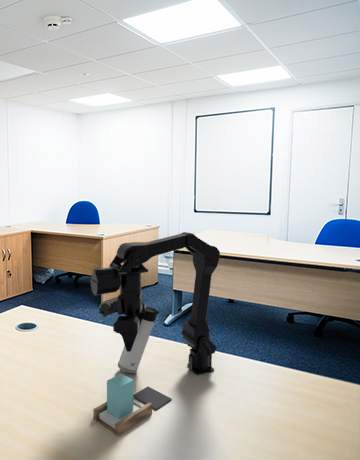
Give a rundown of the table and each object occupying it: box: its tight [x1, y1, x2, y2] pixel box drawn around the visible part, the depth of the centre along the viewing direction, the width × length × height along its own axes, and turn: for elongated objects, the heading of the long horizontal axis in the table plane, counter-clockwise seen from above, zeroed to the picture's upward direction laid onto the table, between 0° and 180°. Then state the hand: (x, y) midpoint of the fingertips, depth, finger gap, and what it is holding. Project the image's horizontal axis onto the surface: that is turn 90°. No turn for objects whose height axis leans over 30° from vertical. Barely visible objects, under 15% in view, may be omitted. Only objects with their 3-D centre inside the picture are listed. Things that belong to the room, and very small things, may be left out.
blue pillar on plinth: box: [99, 373, 140, 429], centre depth 85 cm, size 8×6×9 cm
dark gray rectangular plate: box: [133, 386, 172, 411], centre depth 94 cm, size 6×9×1 cm, turn 50°
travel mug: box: [117, 306, 160, 374], centre depth 108 cm, size 6×7×20 cm
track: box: [92, 401, 153, 437], centre depth 86 cm, size 11×9×2 cm
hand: (131, 343), depth 98 cm, fingers open, 9 cm apart
